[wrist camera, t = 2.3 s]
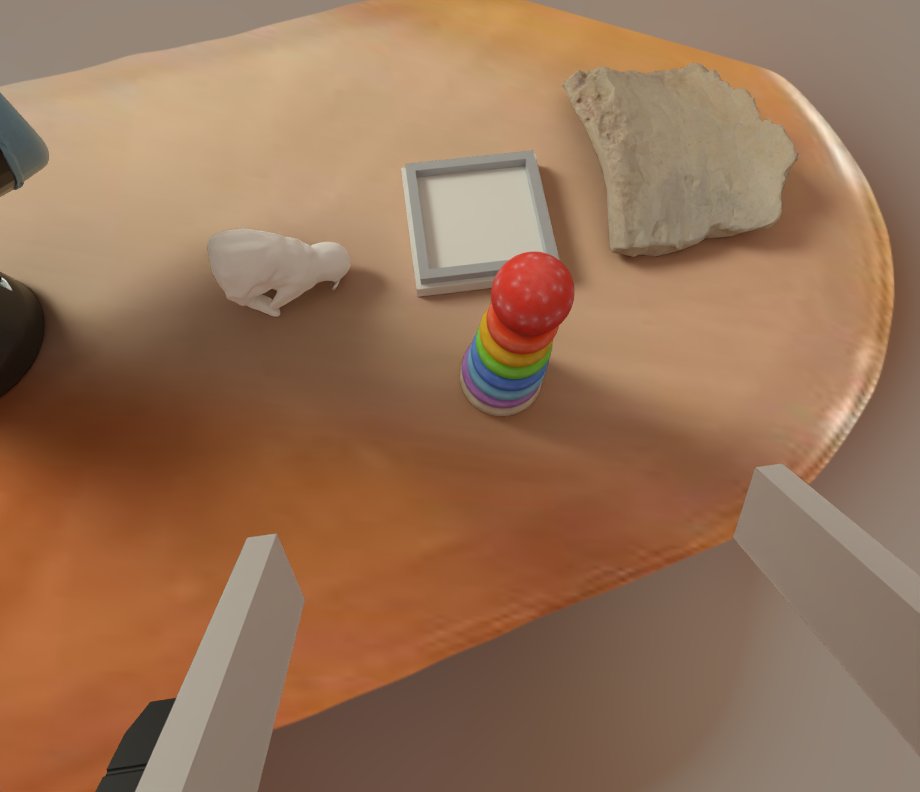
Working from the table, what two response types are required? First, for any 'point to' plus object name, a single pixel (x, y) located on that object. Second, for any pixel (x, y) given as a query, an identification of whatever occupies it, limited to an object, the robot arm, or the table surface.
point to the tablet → (680, 156)
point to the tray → (474, 218)
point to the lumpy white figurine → (272, 266)
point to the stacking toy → (517, 334)
